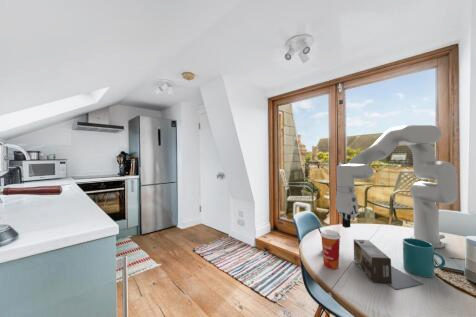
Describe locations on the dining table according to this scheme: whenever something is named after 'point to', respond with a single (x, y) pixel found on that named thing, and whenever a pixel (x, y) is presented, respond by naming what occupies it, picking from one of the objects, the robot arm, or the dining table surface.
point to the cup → (420, 257)
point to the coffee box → (372, 261)
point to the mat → (402, 280)
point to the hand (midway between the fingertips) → (346, 226)
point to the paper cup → (330, 248)
